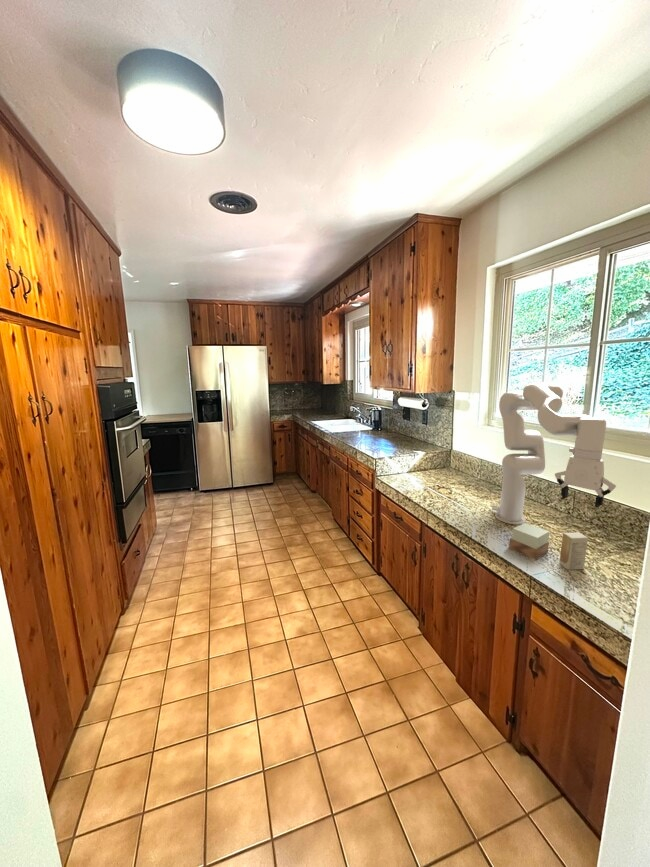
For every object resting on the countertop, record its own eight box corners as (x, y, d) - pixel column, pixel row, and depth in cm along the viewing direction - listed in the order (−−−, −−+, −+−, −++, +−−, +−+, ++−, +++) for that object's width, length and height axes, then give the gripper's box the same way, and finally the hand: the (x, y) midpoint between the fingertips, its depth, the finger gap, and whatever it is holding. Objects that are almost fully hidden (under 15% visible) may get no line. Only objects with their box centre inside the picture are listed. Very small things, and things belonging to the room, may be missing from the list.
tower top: (511, 539, 135) (513, 528, 134) (523, 533, 140) (525, 522, 139) (536, 549, 127) (537, 537, 126) (547, 542, 132) (549, 531, 131)
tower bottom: (508, 549, 136) (509, 538, 135) (521, 542, 141) (522, 532, 141) (535, 560, 128) (537, 549, 127) (547, 552, 133) (549, 542, 133)
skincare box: (575, 562, 126) (579, 531, 124) (584, 569, 122) (589, 537, 119) (557, 563, 126) (562, 532, 123) (566, 569, 122) (571, 537, 119)
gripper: (554, 450, 121) (548, 497, 124) (616, 461, 107) (608, 513, 110) (562, 448, 125) (556, 492, 128) (623, 457, 111) (615, 507, 114)
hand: (580, 502), depth 119 cm, fingers open, 9 cm apart
